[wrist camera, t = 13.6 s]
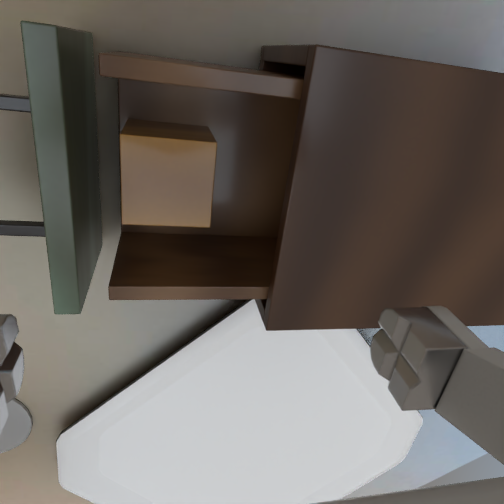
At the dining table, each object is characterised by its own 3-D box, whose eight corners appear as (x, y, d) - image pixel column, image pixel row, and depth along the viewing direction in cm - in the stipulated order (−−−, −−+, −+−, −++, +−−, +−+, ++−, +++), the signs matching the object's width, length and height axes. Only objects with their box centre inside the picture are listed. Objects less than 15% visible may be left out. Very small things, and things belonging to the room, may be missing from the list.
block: (127, 118, 22) (119, 133, 18) (208, 126, 23) (217, 142, 19) (128, 195, 24) (121, 224, 20) (203, 199, 25) (210, 227, 21)
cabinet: (236, 250, 29) (265, 331, 21) (261, 45, 23) (315, 44, 15) (420, 254, 33) (507, 325, 24) (482, 78, 27) (625, 92, 18)
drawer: (4, 242, 25) (-56, 316, 18) (-34, 14, 19) (-142, -3, 12) (293, 249, 29) (332, 311, 22) (327, 66, 24) (393, 73, 17)
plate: (428, 423, 44) (440, 441, 42) (223, 549, 48) (226, 570, 46) (298, 249, 30) (307, 263, 28) (23, 444, 34) (15, 468, 32)
